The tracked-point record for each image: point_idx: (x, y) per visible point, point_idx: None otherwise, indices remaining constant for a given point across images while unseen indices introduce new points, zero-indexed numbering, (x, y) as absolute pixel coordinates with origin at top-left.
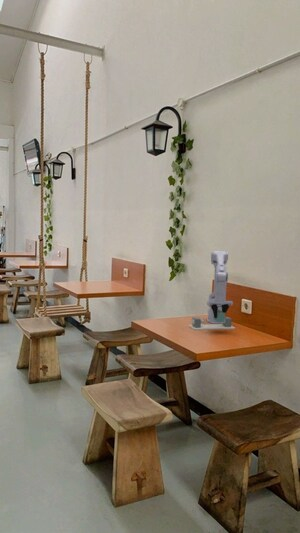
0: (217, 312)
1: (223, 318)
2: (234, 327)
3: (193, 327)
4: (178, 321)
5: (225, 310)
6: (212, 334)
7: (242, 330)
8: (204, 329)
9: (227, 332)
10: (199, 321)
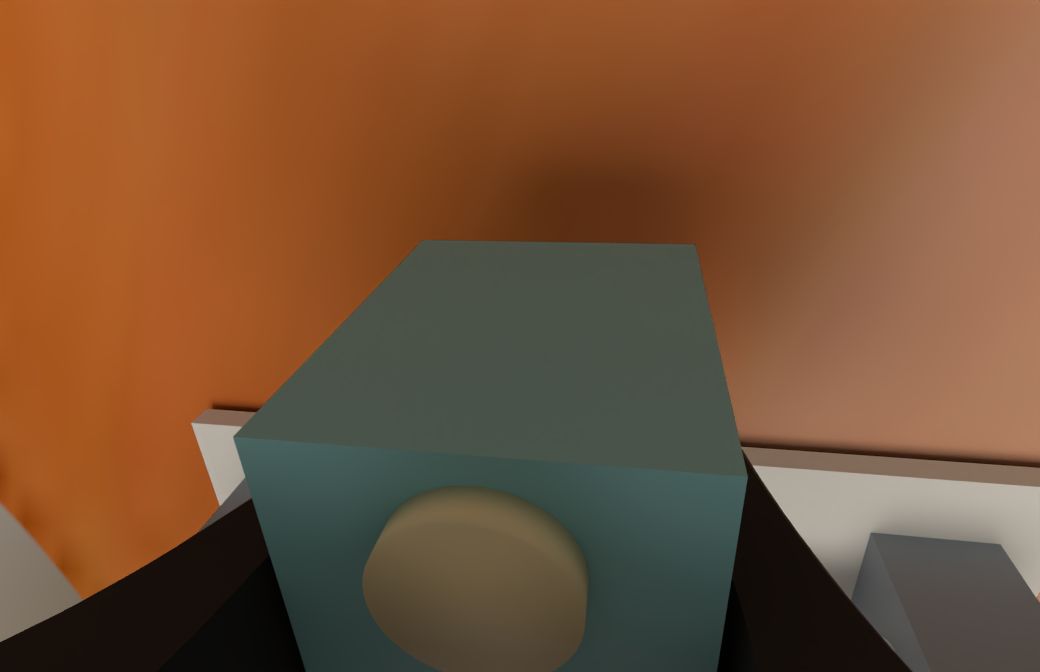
0: (705, 633)
1: (439, 295)
2: (197, 438)
3: (1024, 565)
4: None
5: (111, 654)
6: (831, 103)
7: (93, 334)
8: (814, 456)
9: (397, 239)
10: (960, 653)
